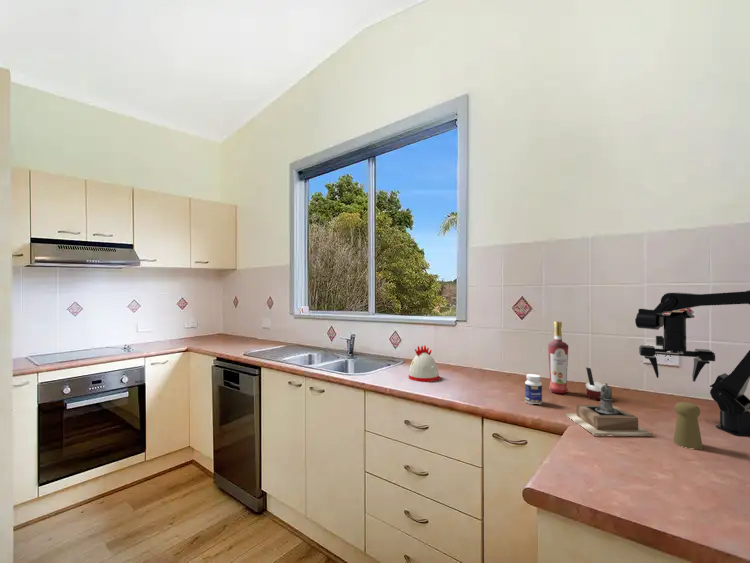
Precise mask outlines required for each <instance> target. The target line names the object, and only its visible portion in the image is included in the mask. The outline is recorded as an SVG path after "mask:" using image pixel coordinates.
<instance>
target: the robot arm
mask: <svg viewBox="0 0 750 563" xmlns="http://www.w3.org/2000/svg"><path fill="white" fill-rule="evenodd" d="M729 305H731V306H732V305H750V289H749V290H746V291H732V292H718V293H717V292H716V293H703V294H702V293H690V292H689V293H688V292H667V293H664V294H663V296H661V298H660V302H659V304H658V305H657V306H656V307H655V308H654V309H648V308H638V312H637V314H636V317H635V319H634V320H635V321H634V322H635V325H636V328H638V329H645V330H656V331H657V330H659V329H661V328H662V327H663V335H655V346H656V347H661V348H656V347H655V346H654V345H643V344H640V346H639V347H638V353H639V355H640V356H643V357H644V359H647V360H649V362H650V363H651V366H652V369H653V372H654V374H655V376H656V378H657V379H659V377H660V374H659V373H660V372H659V367H658V360H657V359H658V358H657V357H656V355H662V356H664V355H665V356H673V357H674V356H677V357H688V358H689V357H690V358H691V357H692V358H693V369H692V375H691V376H692V382H694V383H695V382H696V380H697V378H698V376H699V374H700V372H701V371H702V369H703V368H704V367H705V365H706V364H710V362H716V353H715V352H714V351H712V350H711V349H704V348H695V349H694V351H693V350H687V319H693V318H695V315H693V314H692V313H691V312H690V311H689V310H688V309H693V308H696V307H702V306H703V307H705V306H729ZM680 310H682V312H677V311H680ZM683 310H684V311H683ZM665 313H666V314H665ZM667 313H670V314H667ZM749 382H750V349H749V350H748V352H747V353H746V354H745V355H744V356H743V358H741V360H740V361H739V363H738V364H737V365H736V367H735V368H734V369H733V370H732V372H731V373H729V374H727V373H726V372H725V373H721V374H719V375H718V376H716V379H715V381H714V383H713V384H710V385H709V387H710V390H709V393H710V397H711V398H712V400H713V401H715V402H716V403H717V406H718V407H719V424H715V427H716V428H718V429H719V430H722V431H725V432H727V433H729V434H732V435H734V436H750V411H749V410H750V398H749V397H748V396H747V395H745V392H746V390H747V388H748V386H749Z"/></svg>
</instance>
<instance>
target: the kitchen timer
mask: <svg viewBox="0 0 750 563" xmlns="http://www.w3.org/2000/svg"><path fill="white" fill-rule="evenodd" d="M429 349H430V348H429V347H427V346H426V345H425V344H424V346H423V345H421V347H420V346H417V349H416V348H414V351H415V354H416V355H415V356H414V358H413V359H412V361H411V363H410V366H409V369H408V379H409V380H411V381H415V382H420V383H422V382H424V383H428V382H435V381H438V380H439V379H440V374H439V373H440V372H439V368H438V365H437V363H436V361H435V359H434V358H433V356H432V355H431V353H432V351H433V350H432V349H430V350H429Z"/></svg>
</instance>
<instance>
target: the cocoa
mask: <svg viewBox="0 0 750 563" xmlns="http://www.w3.org/2000/svg"><path fill="white" fill-rule="evenodd" d="M585 370H586V372H587V377H588V380H587V382H586V383H585V389H586V394H587V396H588V398H590V399H591V400H594V399H595V401H601V399H600V398H599V397H600V396H601V387H602V386H605V385H604V384H603V383H600V382H599V381H597V380H594V377H593V373H592V372H593V371H592V369H591V367H586V369H585Z"/></svg>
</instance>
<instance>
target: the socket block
mask: <svg viewBox="0 0 750 563" xmlns="http://www.w3.org/2000/svg"><path fill="white" fill-rule="evenodd" d="M600 405H601V404H576V412H572V413H571V412H570V413H569V412H568V413H566V414H565V415H566V418H568V417H569V418H570V419H569V418H568V419H569V420H571V419H572V420H573V421H574V423H575V422H576V423H578V424H579V425H581V426H582V427H584V428H585V429H587V430H588V431H589V432H591V433H592V434H594V435H612V436H611V437H614V436H650V437H651V438H652V432H651V431H649V430H647V429H645V428H643V427H641V426H639V417H638V416H635V415H633V414H632V413H630V412H628V411H627V410H626V411H625V410H624V409H622V408H620V407H619V406H616V405H614V404H612V407H613V409H614V410H616V411H617V412H618V414H617V415H600V414H598V413H597V412H596V410H595V409H596V408H599V407H600ZM572 420H571V421H572ZM573 421H572V422H573ZM576 423H575V424H576ZM578 424H577V425H578ZM579 425H578V426H579ZM582 427H581V428H582ZM589 432H588V433H589Z"/></svg>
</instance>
